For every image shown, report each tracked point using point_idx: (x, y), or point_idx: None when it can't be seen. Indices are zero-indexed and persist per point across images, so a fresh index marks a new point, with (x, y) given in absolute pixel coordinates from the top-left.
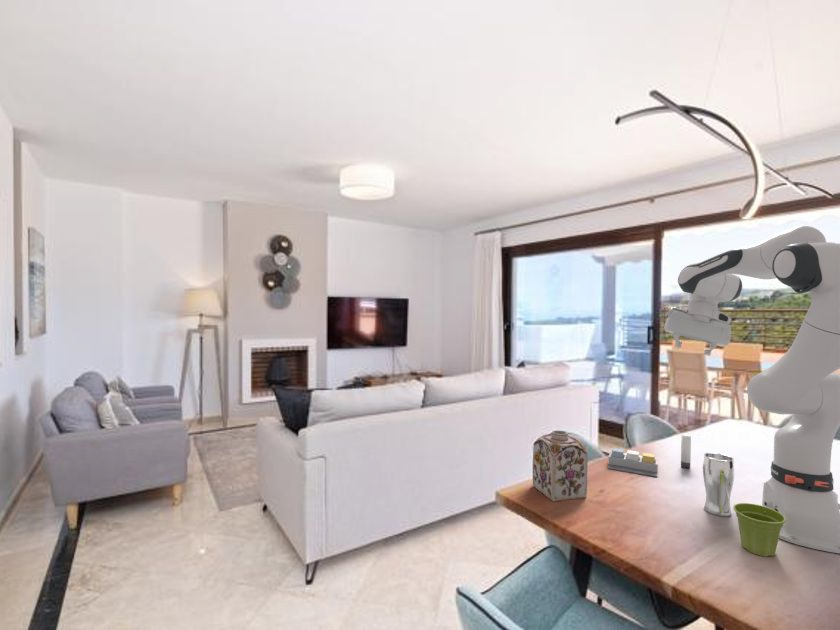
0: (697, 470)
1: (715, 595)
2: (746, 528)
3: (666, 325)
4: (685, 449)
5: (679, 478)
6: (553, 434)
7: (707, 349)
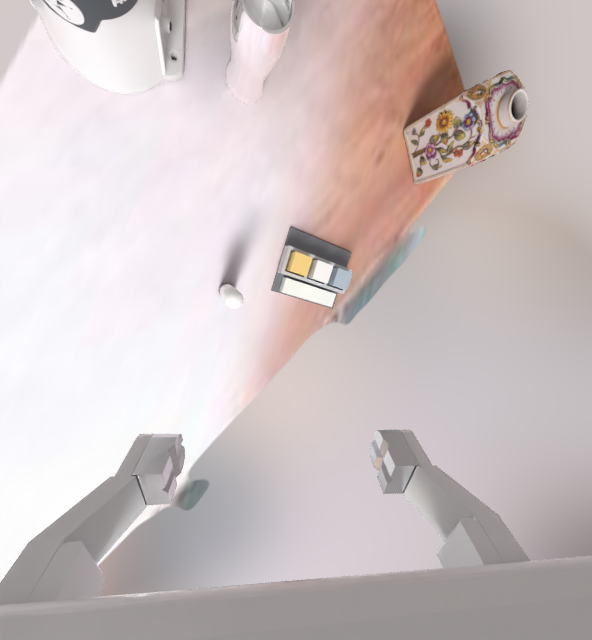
0: (210, 278)
1: None
2: None
3: None
4: (233, 287)
5: (255, 229)
6: (525, 100)
7: (157, 473)
